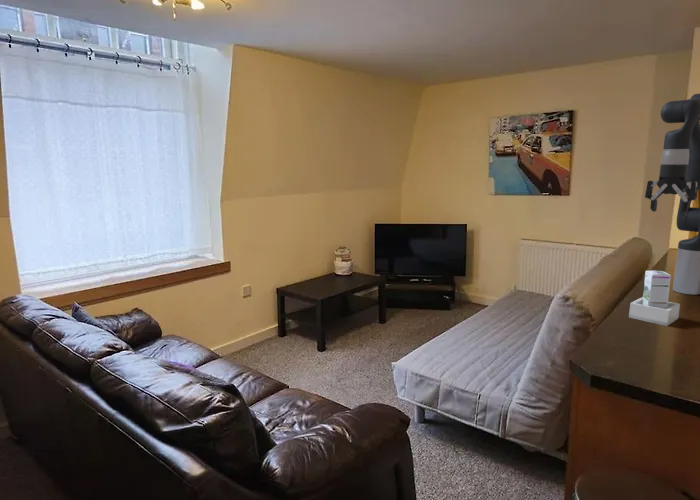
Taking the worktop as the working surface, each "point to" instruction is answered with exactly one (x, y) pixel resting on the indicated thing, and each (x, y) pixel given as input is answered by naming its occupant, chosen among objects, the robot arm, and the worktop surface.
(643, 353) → the worktop surface
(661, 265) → the worktop surface
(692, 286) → the robot arm
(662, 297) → the syrup box
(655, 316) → the bin
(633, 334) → the worktop surface
